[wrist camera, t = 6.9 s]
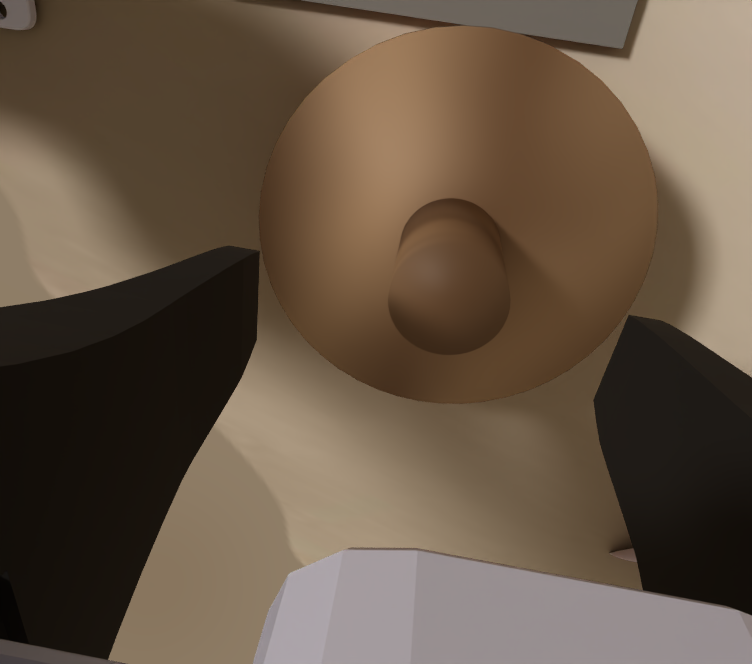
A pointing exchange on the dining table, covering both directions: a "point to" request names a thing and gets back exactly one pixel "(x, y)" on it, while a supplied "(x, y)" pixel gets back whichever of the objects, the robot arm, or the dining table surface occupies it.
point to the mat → (520, 16)
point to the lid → (458, 214)
